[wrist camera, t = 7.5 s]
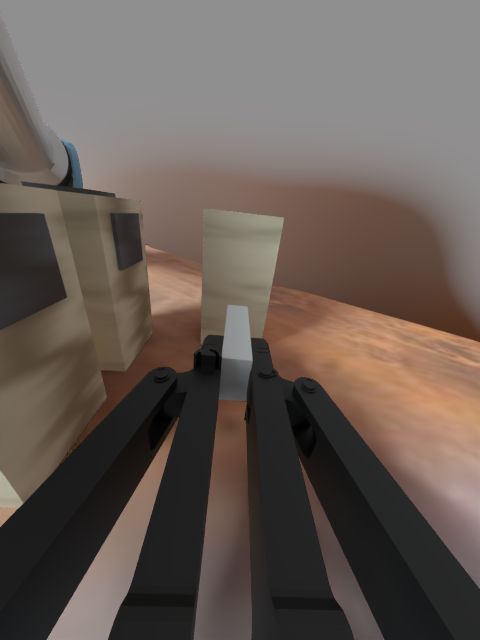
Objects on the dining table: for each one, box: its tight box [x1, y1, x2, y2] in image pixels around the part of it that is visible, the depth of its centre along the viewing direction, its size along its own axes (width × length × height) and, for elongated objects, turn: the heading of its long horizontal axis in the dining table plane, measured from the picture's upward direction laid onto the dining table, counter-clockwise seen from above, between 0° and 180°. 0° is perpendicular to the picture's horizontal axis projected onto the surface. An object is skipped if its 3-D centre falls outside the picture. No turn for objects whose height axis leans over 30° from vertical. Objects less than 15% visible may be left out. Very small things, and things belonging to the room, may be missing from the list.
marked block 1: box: [21, 181, 153, 372], centre depth 19 cm, size 7×7×14 cm
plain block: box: [201, 209, 284, 345], centre depth 25 cm, size 7×7×14 cm
